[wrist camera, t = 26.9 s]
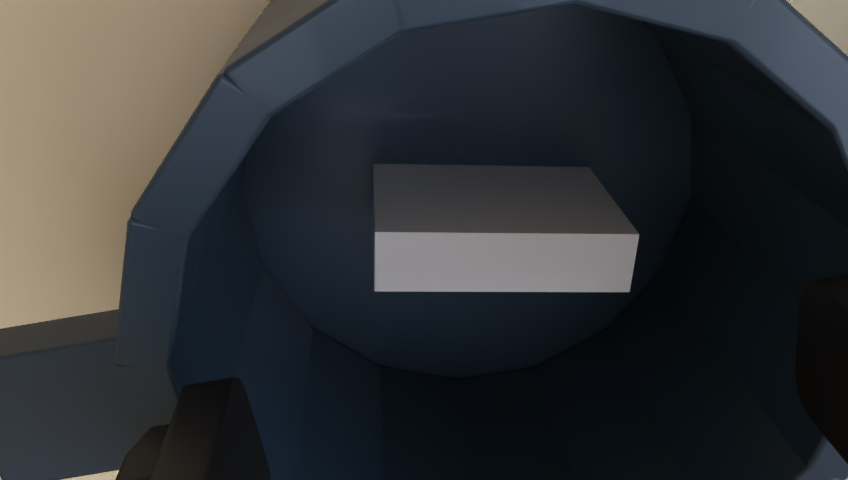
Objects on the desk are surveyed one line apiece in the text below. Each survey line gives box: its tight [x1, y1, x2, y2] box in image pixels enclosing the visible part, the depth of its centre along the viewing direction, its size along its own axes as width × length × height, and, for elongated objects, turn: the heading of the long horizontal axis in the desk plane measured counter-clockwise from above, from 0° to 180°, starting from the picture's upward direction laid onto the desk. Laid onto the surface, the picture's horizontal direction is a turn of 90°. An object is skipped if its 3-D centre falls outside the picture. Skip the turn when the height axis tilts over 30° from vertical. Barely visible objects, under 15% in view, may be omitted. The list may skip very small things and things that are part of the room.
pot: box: [0, 0, 848, 480], centre depth 15 cm, size 12×17×7 cm
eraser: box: [373, 164, 639, 292], centre depth 16 cm, size 1×5×4 cm, turn 88°
